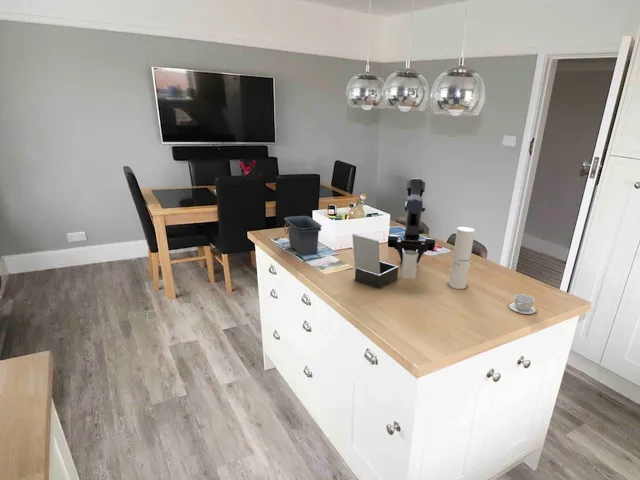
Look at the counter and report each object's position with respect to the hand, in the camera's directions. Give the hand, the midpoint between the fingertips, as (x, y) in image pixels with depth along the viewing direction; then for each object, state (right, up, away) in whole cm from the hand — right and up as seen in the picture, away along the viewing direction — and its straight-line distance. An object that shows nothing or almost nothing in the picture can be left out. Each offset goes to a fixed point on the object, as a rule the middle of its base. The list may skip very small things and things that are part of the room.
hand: (409, 262), depth 163 cm
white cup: (0, -5, +4) cm, 7 cm away
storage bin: (-52, +10, +46) cm, 70 cm away
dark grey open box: (-14, -6, +17) cm, 22 cm away
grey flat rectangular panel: (-17, +4, +5) cm, 18 cm away
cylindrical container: (+21, -9, +17) cm, 29 cm away
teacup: (+44, -19, 0) cm, 48 cm away
